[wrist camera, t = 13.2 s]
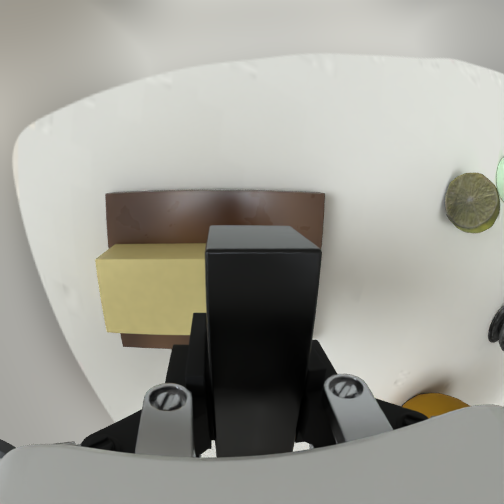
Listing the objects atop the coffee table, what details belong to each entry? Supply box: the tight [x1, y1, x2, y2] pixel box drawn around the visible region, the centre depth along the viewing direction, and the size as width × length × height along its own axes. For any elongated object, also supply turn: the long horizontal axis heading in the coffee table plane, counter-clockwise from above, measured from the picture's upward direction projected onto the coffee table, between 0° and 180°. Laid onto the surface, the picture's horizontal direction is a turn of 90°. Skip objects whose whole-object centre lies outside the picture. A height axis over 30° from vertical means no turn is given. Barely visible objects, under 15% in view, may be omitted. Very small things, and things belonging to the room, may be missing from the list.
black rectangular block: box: [205, 225, 322, 458], centre depth 11 cm, size 2×10×8 cm, turn 178°
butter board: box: [105, 190, 325, 349], centre depth 19 cm, size 14×11×1 cm
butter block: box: [96, 243, 206, 335], centre depth 17 cm, size 7×4×4 cm, turn 89°
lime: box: [445, 173, 500, 233], centre depth 18 cm, size 4×5×5 cm
